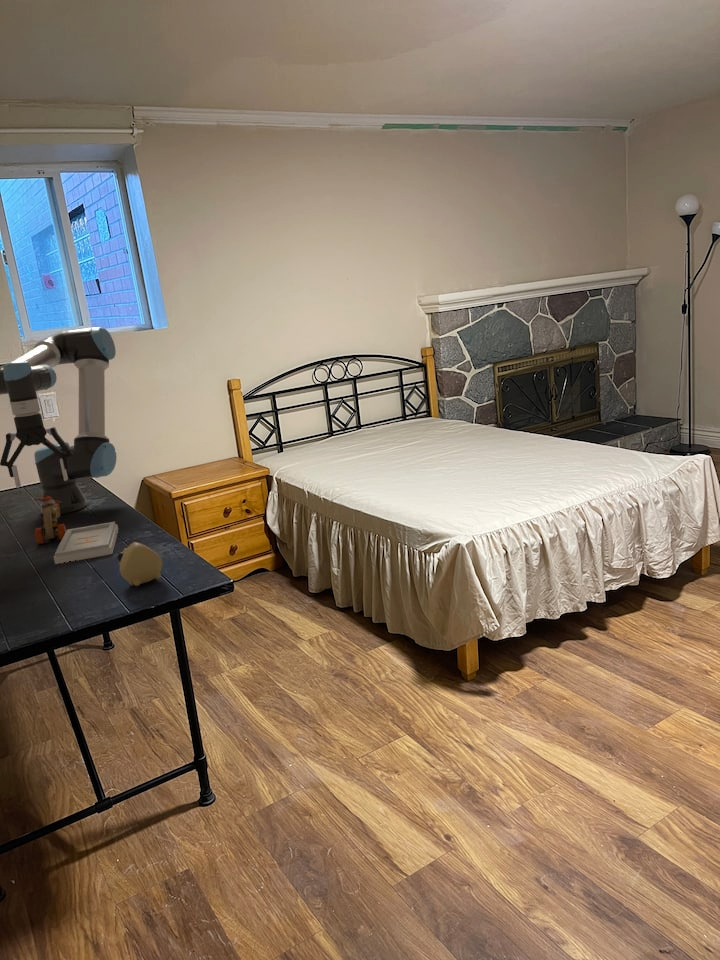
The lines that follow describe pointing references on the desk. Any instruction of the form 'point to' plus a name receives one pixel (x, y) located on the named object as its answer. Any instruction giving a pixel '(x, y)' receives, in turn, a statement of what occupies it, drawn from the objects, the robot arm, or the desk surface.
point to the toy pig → (139, 564)
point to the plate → (87, 542)
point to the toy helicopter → (50, 521)
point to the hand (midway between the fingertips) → (42, 483)
